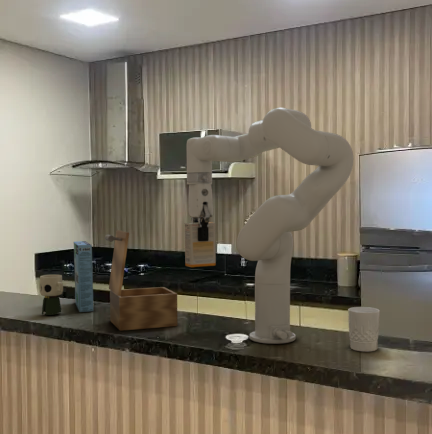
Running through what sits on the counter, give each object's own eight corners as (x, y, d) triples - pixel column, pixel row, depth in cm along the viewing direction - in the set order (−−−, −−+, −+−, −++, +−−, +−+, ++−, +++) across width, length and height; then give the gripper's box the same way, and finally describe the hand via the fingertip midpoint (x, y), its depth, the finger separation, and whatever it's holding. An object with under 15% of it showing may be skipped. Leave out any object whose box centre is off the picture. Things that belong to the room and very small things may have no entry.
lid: (119, 230, 188) (103, 228, 186) (129, 232, 175) (112, 230, 173) (111, 288, 188) (95, 287, 186) (120, 295, 174) (103, 294, 173)
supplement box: (209, 264, 183) (209, 221, 183) (216, 266, 179) (215, 222, 178) (184, 265, 180) (183, 222, 179) (190, 267, 176) (190, 222, 175)
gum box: (93, 311, 204) (92, 244, 203) (78, 312, 203) (77, 245, 202) (88, 302, 223) (87, 240, 222) (74, 303, 221) (73, 241, 220)
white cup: (346, 344, 157) (346, 306, 157) (376, 345, 156) (377, 307, 156) (349, 352, 149) (350, 312, 149) (382, 352, 149) (382, 312, 148)
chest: (164, 317, 195) (164, 287, 194) (177, 325, 181) (177, 293, 181) (110, 321, 188) (109, 290, 188) (119, 330, 175) (119, 297, 174)
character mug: (32, 314, 199) (31, 275, 199) (49, 311, 205) (48, 273, 205) (54, 318, 193) (53, 278, 193) (71, 314, 199) (70, 275, 198)
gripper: (221, 178, 172) (221, 241, 173) (202, 180, 188) (202, 238, 188) (196, 178, 169) (197, 242, 170) (179, 180, 185) (179, 239, 186)
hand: (199, 239), depth 179 cm, fingers closed on supplement box, 5 cm apart
